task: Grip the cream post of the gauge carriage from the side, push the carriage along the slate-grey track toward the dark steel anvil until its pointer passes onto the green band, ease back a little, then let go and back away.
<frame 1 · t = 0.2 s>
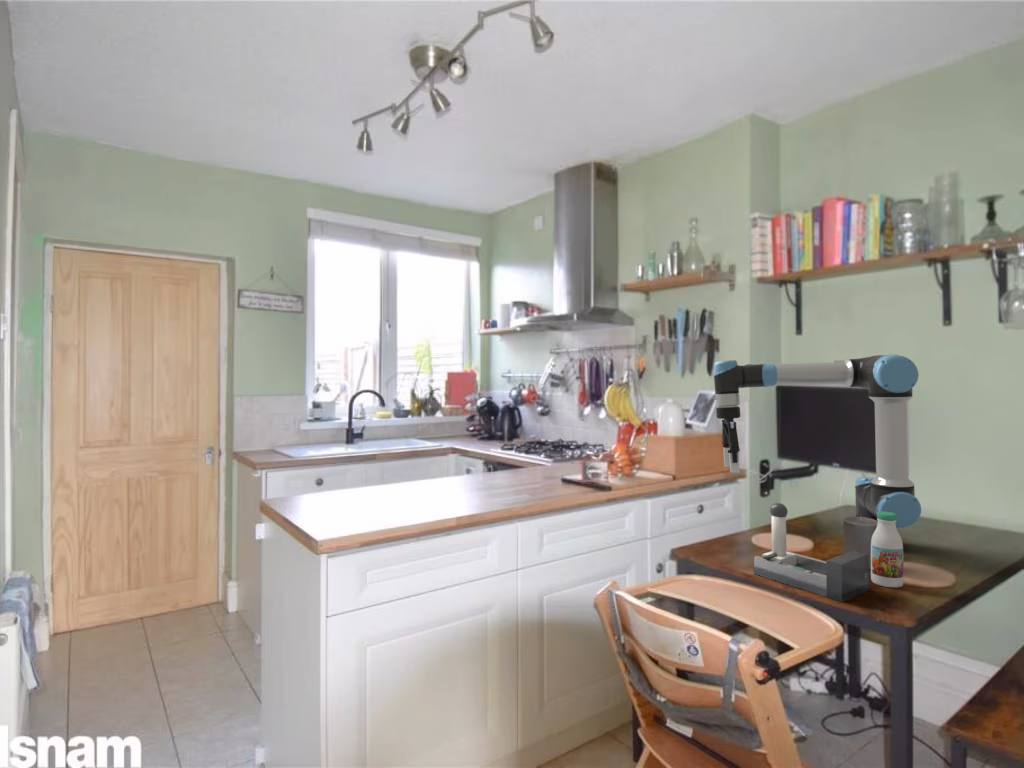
hand: (731, 469, 194), 27 cm above the table, tool pointing down, fingers open, 13 cm apart
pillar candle: (861, 564, 179), on the table
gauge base: (808, 581, 166), on the table
gauge carriage: (775, 534, 172), point 12 cm above the table, slide at 0.0 cm
milk bottle: (887, 583, 163), on the table
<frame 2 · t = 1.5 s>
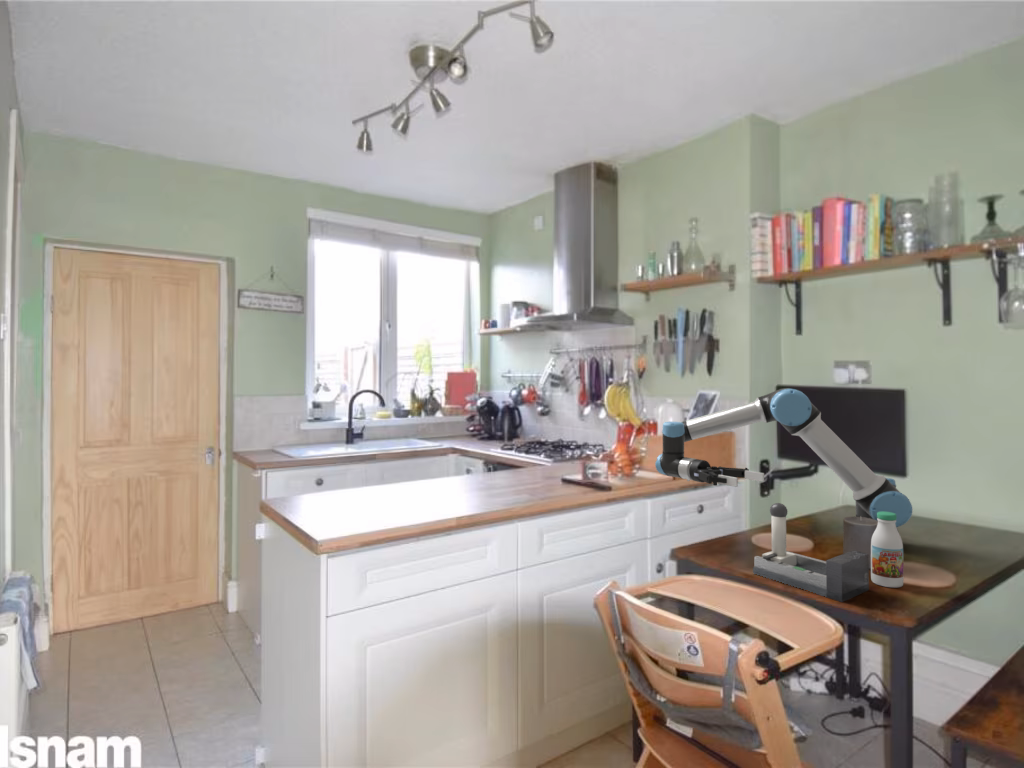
hand: (750, 480, 181), 27 cm above the table, tool horizontal, fingers open, 13 cm apart
nothing on the table moved.
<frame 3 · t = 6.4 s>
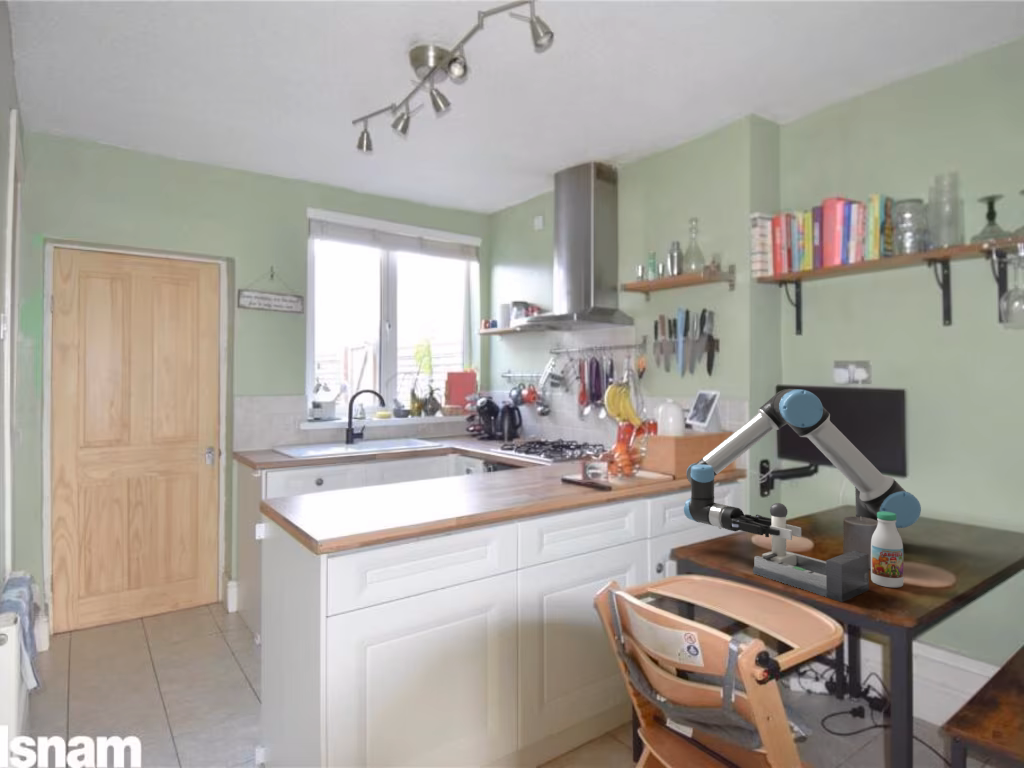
hand: (795, 533, 168), 13 cm above the table, tool horizontal, fingers closed on gauge carriage, 4 cm apart
gauge carriage: (775, 534, 172), point 12 cm above the table, slide at 0.0 cm, touching gripper
everything else where it was.
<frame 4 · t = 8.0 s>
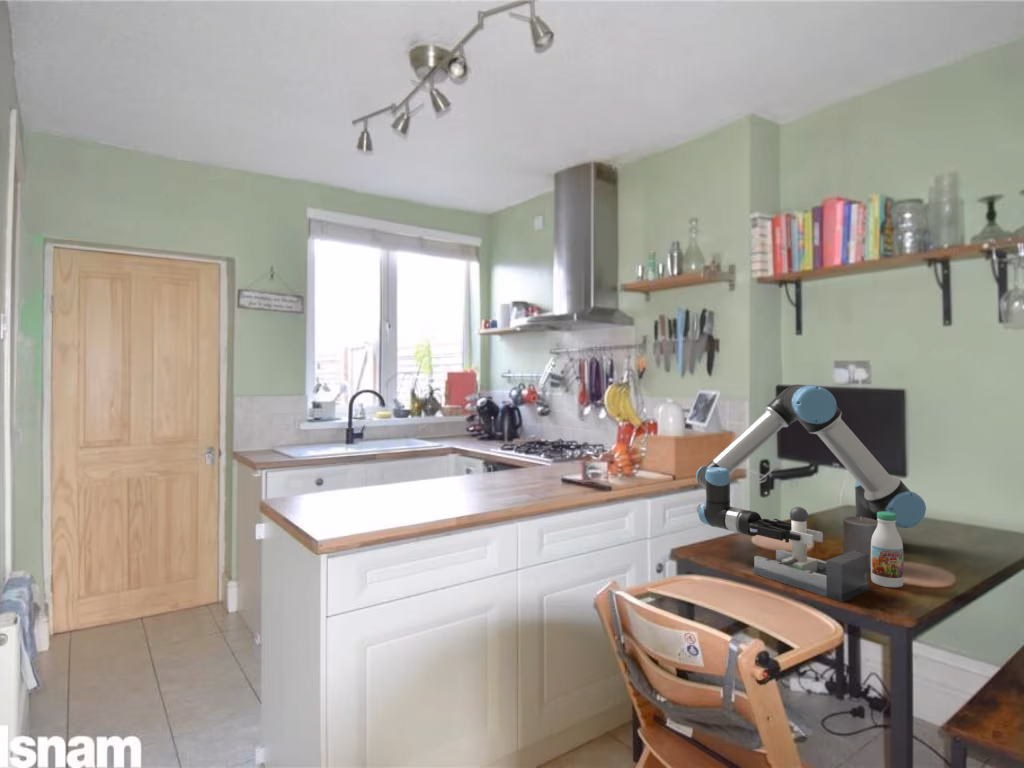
hand: (817, 538, 163), 13 cm above the table, tool horizontal, fingers closed on gauge carriage, 4 cm apart
gauge carriage: (796, 539, 167), point 12 cm above the table, slide at 6.3 cm, touching gripper
everything else where it was.
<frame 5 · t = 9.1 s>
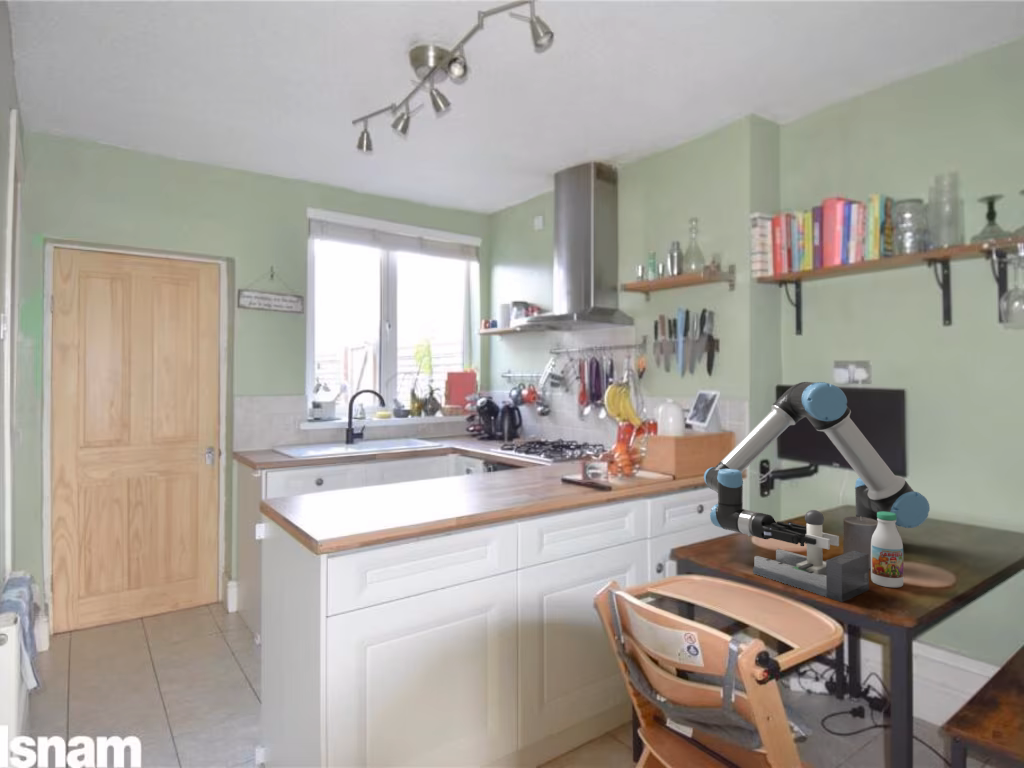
hand: (833, 542, 159), 13 cm above the table, tool horizontal, fingers closed on gauge carriage, 4 cm apart
gauge carriage: (811, 543, 163), point 12 cm above the table, slide at 10.9 cm, touching gripper
everything else where it was.
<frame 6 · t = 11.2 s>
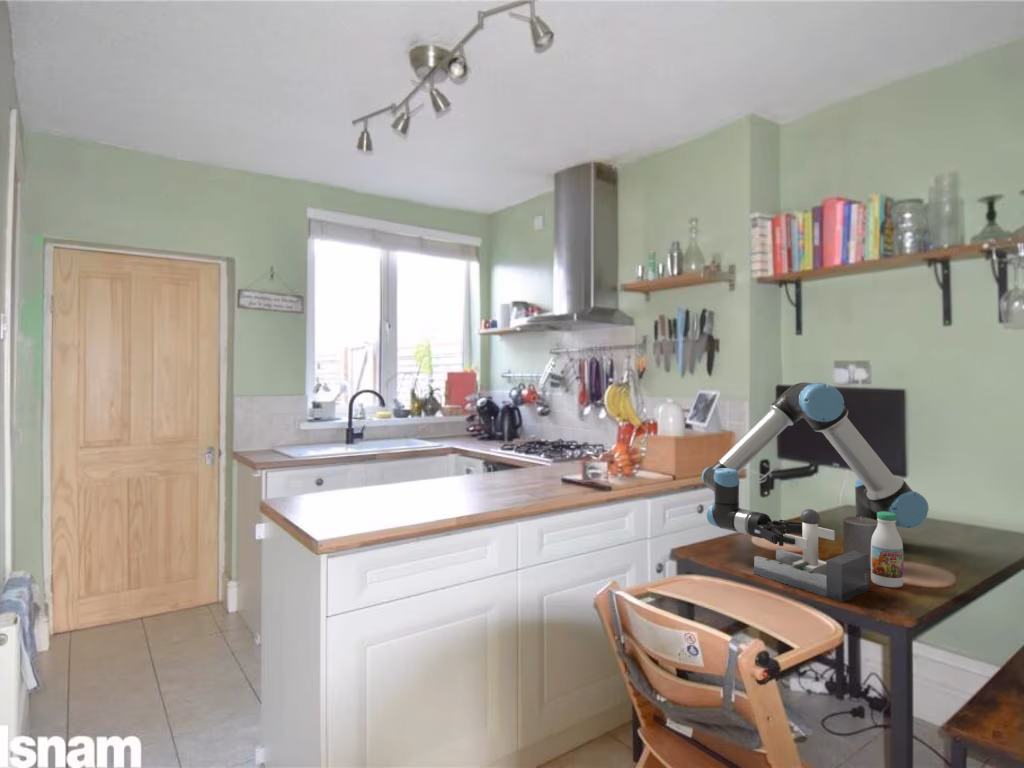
hand: (821, 539, 162), 13 cm above the table, tool horizontal, fingers open, 13 cm apart
gauge carriage: (807, 542, 164), point 12 cm above the table, slide at 9.6 cm
everything else where it was.
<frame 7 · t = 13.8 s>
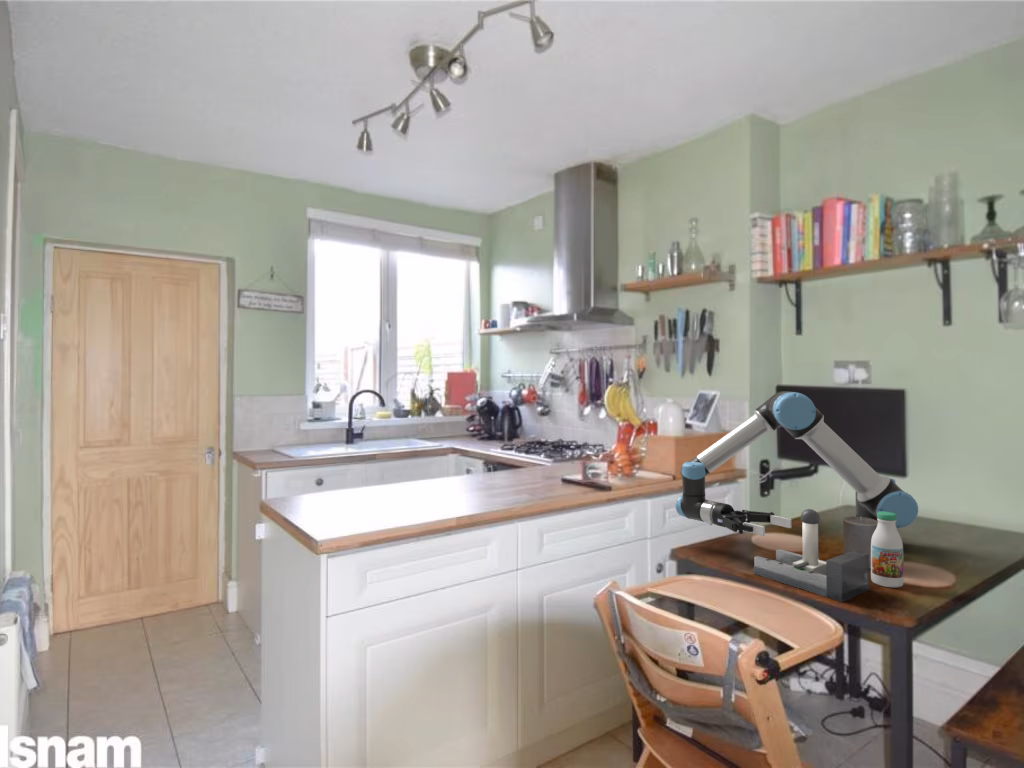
hand: (777, 527, 173), 14 cm above the table, tool horizontal, fingers open, 13 cm apart
nothing on the table moved.
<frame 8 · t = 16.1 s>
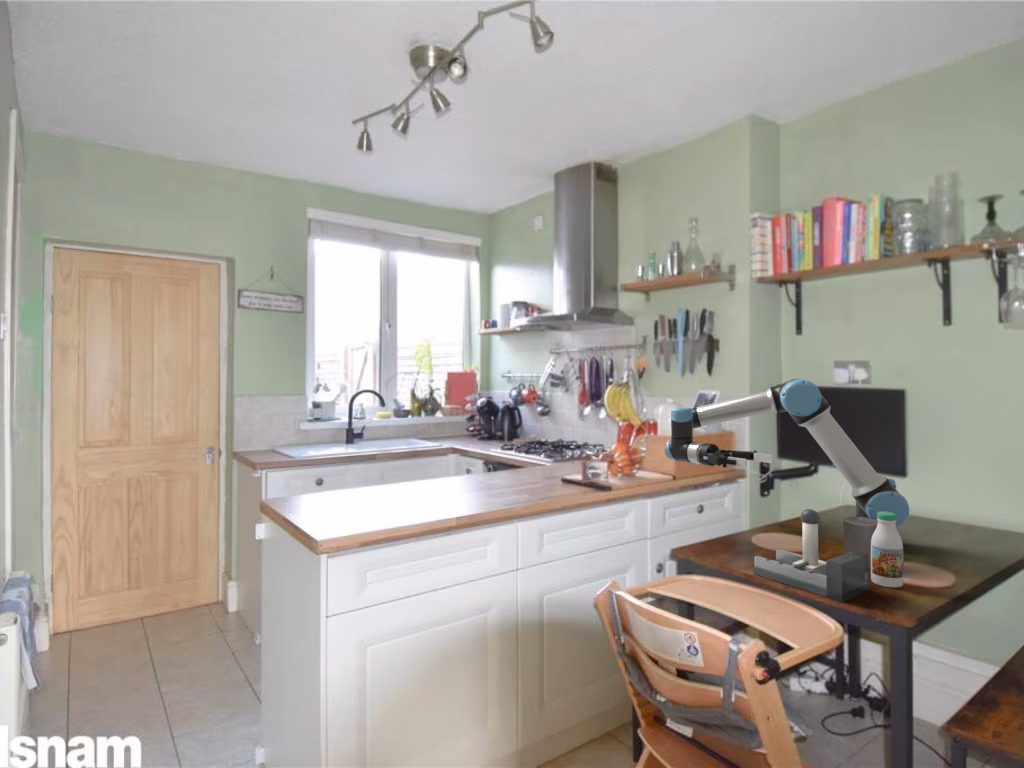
hand: (759, 461, 182), 32 cm above the table, tool horizontal, fingers open, 13 cm apart
nothing on the table moved.
at the end: gauge carriage slide at 9.6 cm; the gripper is holding nothing; milk bottle moved 0.2 cm from its start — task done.
